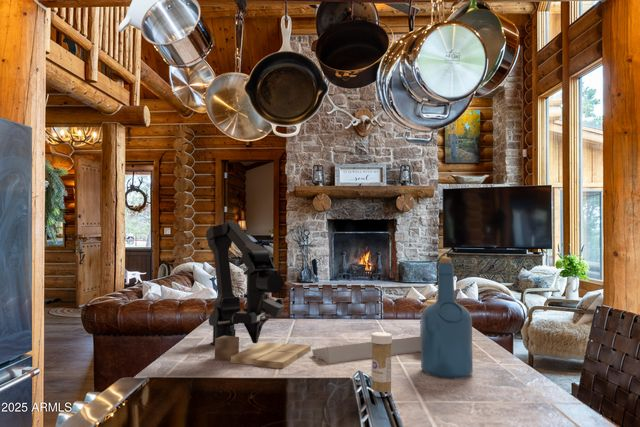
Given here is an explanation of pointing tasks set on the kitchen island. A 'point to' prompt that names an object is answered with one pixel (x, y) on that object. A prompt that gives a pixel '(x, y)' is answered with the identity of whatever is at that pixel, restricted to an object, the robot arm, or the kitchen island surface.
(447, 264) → the wine bottle
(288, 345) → the laid row
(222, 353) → the block
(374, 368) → the sprinkles bottle
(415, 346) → the decorative molding
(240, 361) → the plank
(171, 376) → the kitchen island surface
